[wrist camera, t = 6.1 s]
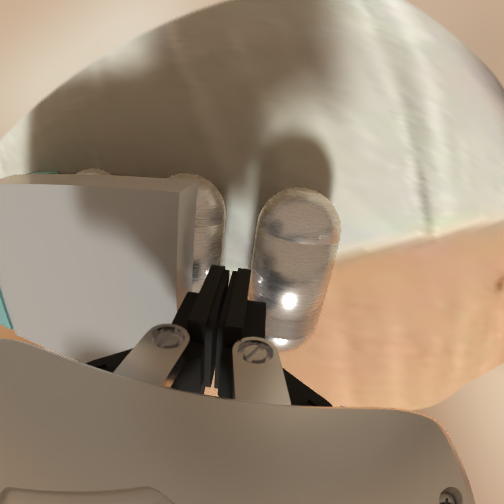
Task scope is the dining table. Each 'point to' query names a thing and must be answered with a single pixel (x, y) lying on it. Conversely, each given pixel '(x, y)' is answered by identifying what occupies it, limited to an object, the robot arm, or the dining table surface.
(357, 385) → the dining table surface
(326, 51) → the dining table surface
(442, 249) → the dining table surface
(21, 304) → the slab
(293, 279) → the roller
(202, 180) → the roller mid
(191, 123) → the dining table surface
